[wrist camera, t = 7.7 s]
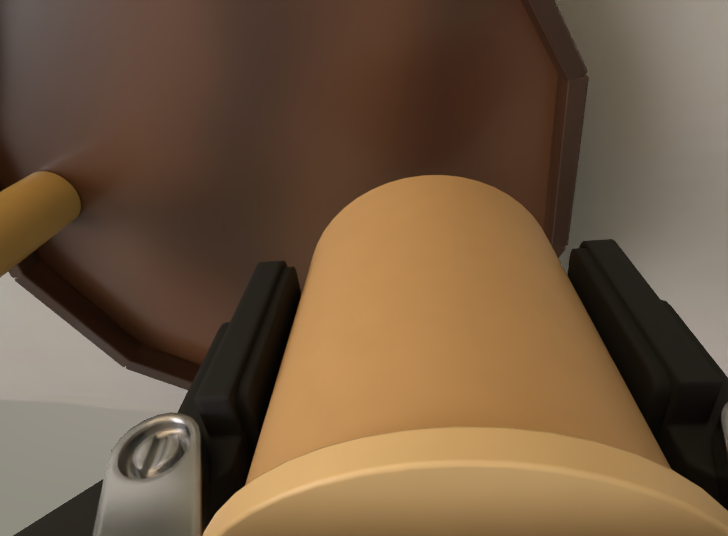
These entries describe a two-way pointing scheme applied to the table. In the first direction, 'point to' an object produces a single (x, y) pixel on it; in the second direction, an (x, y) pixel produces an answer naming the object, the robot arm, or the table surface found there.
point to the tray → (254, 143)
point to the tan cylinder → (452, 389)
